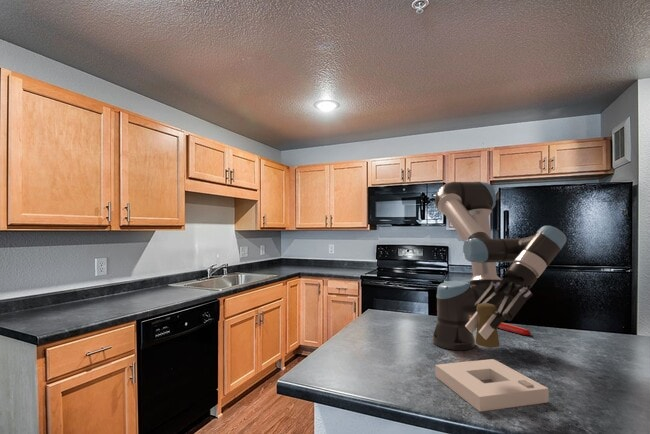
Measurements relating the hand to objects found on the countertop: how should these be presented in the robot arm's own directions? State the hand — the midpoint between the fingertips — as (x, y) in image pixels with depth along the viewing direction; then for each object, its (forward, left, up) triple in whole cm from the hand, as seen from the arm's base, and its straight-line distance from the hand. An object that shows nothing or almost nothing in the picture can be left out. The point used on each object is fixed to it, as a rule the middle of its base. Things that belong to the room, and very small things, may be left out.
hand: (475, 332), depth 94 cm
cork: (+2, +3, -3) cm, 5 cm away
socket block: (+2, +3, -16) cm, 16 cm away
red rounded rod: (-13, +65, -16) cm, 68 cm away
